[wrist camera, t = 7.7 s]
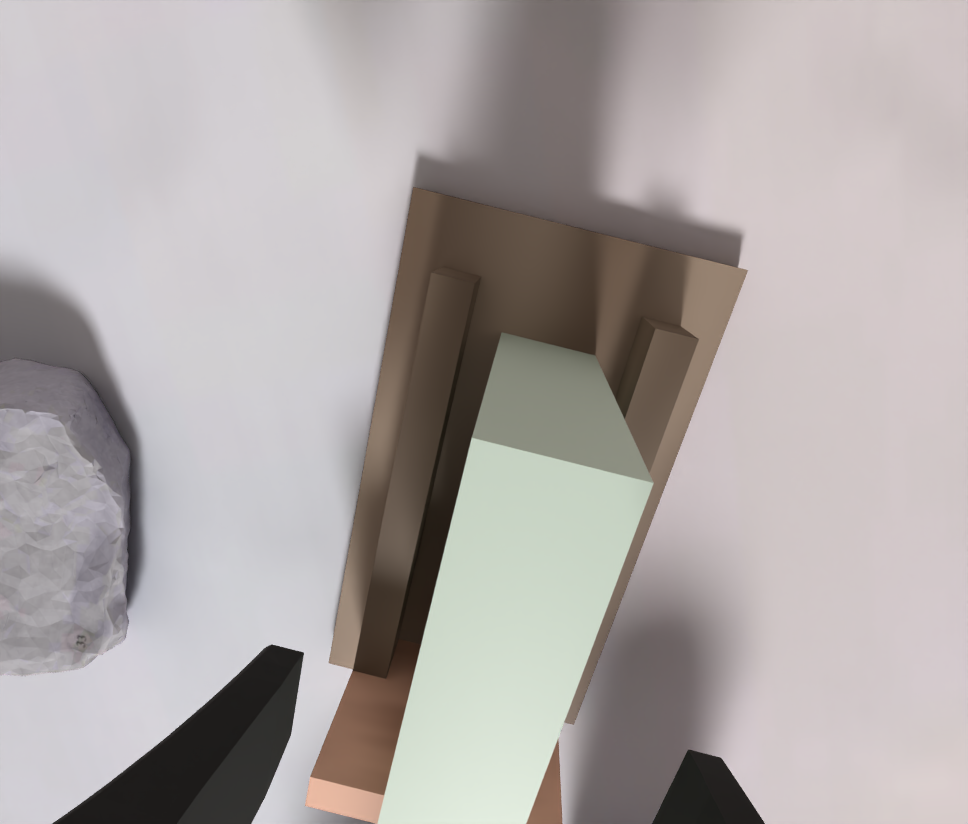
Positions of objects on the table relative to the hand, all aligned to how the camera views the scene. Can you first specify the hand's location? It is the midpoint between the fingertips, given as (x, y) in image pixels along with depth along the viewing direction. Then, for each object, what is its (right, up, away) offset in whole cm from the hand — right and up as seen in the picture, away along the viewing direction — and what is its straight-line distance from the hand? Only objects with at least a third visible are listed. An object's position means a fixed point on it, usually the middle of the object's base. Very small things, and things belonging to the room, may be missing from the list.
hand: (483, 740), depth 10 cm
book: (+1, +3, +9) cm, 10 cm away
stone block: (-17, +2, +12) cm, 21 cm away
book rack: (+1, +3, +10) cm, 10 cm away
